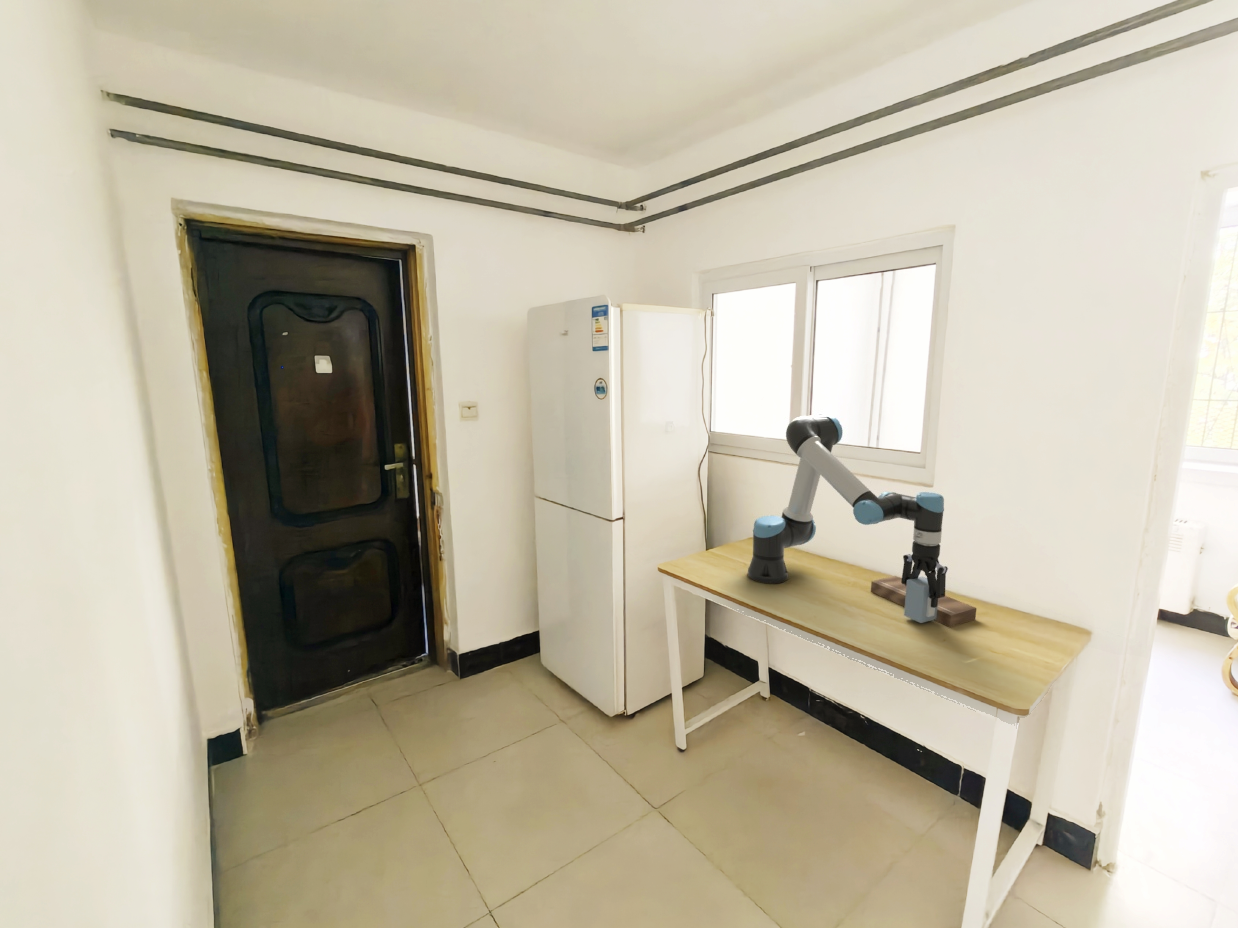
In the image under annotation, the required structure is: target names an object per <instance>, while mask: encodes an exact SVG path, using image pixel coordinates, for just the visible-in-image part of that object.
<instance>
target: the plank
mask: <svg viewBox="0 0 1238 928" xmlns="http://www.w3.org/2000/svg"><path fill="white" fill-rule="evenodd" d="M901 580H902V577H900V576H897V575H893V576H892V575H891V576H888V577H884V578H881V579H876V580H871V586H870V593H873V594H876V595H877V596H880V597H881V598H884V599H886V600H889V601H891V602H893V603H895V604H897V605H900V606H902V607H904V608H905V597H906V585H905V584H902V583H901ZM976 616H977V607H976V606H973V605H971V604H968V603H965V602H963V601H960V600H957V599H956V598H952V597H951V596H947V595H945V597H942V598H938V606H937V617H936V619H934V620H933V621H935V622H937V623H940V624H942V625H943V626H946V627H949V628H952V627H956V626H958V625H963V624H965V623H968V622H969V623H970V622H971V621H975V620H976Z"/></svg>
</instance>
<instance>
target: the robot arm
mask: <svg viewBox="0 0 1238 928" xmlns="http://www.w3.org/2000/svg"><path fill="white" fill-rule="evenodd" d="M787 425H788V426H787V427H786V432H785V437H786V443H787V444H788V446H789V448H790V449H791V451H793V452H794V454H795V455H797V456H798V458H800V459H799V462H798V465H797V466H798V467H797V471H796V474H795V478H794V481H793V485H792V490H791V494H790V498H789V501H788V506H787V507H784V508H783V510H782V513H781V516H779V515H766V516H765V515H764V516H761V517H758V518H757V519H756V520H754V522H753V529H752V532H753V533H752V537H753V538H752V557H751V558H752V559H751V560H750V564H749V566H748V567H747V577H748V578H749V579H750V580H752V581H755V582H757V583H762V584H774V585H775V584H780V583H784V582H786V581H787V580H788V577H789V576H788V569H787V566H786V563H785V562H786V561H785V559H784V557H785V549H787V548H791V547H795V546H800V545H804V544H806V543H809V542H810V541H811V540H813V539H814V536H815V534H816V529H817V525H815V520H814V516H813V514H812V513H811V512H812V509H813V504H814V500H815V496H816V493H817V489H818V485H819V482H820V478H821V477H822V478H823V479H824V480H825V481H827V483H829V484H830V486H831V487H832V488H833V489H834V490H835V491H836V492H837V493H838V494H839V495H840V496H841V497H842V498H843V499H844V500H845V501H846V503H848V504H849V505H850V506H851V507H852V508H853V509H852V511H853V512H852V513H853V515H854V519H855V520H856V521H857V522H858V523H860V524H862V525H865V526H868V525H876V524H879V523H881V522H886V521H891V520H894V519H902V520H903V519H904V520H907V521H912V522H913V537H912V539H913V541H912V547H911V552H912V554H911V553H908V554H904V555H903V568H902V575H901V578H902V580H901V583H902V584H905V585H907V580H910V579H916V578H918V577H920V574H921V572H923V573H924V575H925V577H926V578H927V581H928V585H929V591H930V596H929V597H928V602H927V613H926V616H927V617H931V616H934V613H935V607H937V605H938V598H942V597H945V596H946V575H947V572H948V570H949V568H948V566H943V565H942V564H940V561H939V557H940V553H941V542H942V530H943V520H944V519H943V517H944V512H945V507H944V506H945V499H944V496H943V495H941V494H939V493H936V492H928V491H925V492H923V491H922V492H918V493H917V494H916V496H911V495H905V494H902V493H901V494H900V493H897V492H893V491H892V492H889V491H884V492H882V493H881V494H879V496H877V495H875V493H873V492H872V490H870V488H868V487H867V486H866V485H865V484H864V483H863V482H862V481H861V480H860V479H859V478H858V477H857V476H856V475H855V474H854V473H853V472H851V470H850V469H849V468H848V467H846V466H845V464H844V463H842V462H841V461H840V460H839V459H838V458H837V456H835V455H834V454H833V453H832V451H833V447H834V446H836V445H837V444H838V443H839V442H840V441H841V440H842V438H843V426H842V425H841V424H840V421H839V420H838V419H837V417H835V416H833V415H831V414H816V415H803V416H799V417H796V418H794V419H793V420H791V421H790V422H789V424H787Z"/></svg>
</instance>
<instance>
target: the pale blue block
mask: <svg viewBox="0 0 1238 928" xmlns="http://www.w3.org/2000/svg"><path fill="white" fill-rule="evenodd" d="M929 596H930V591H929V585H928V581H927V577H926V576H925V577H924V576H919V577H918V578H916V579H910V580H907V585H906V597H905V607H904V611H903V616H905V617H906V618H909V619H911V620H913V621H915V622H918V623H920V624H923V623H927V622H930V621H935V620H934V619H936V617H937V607H935V613H934V616H931V617H927V616H926V613H927V602H928V597H929ZM937 606H938V605H937Z"/></svg>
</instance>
